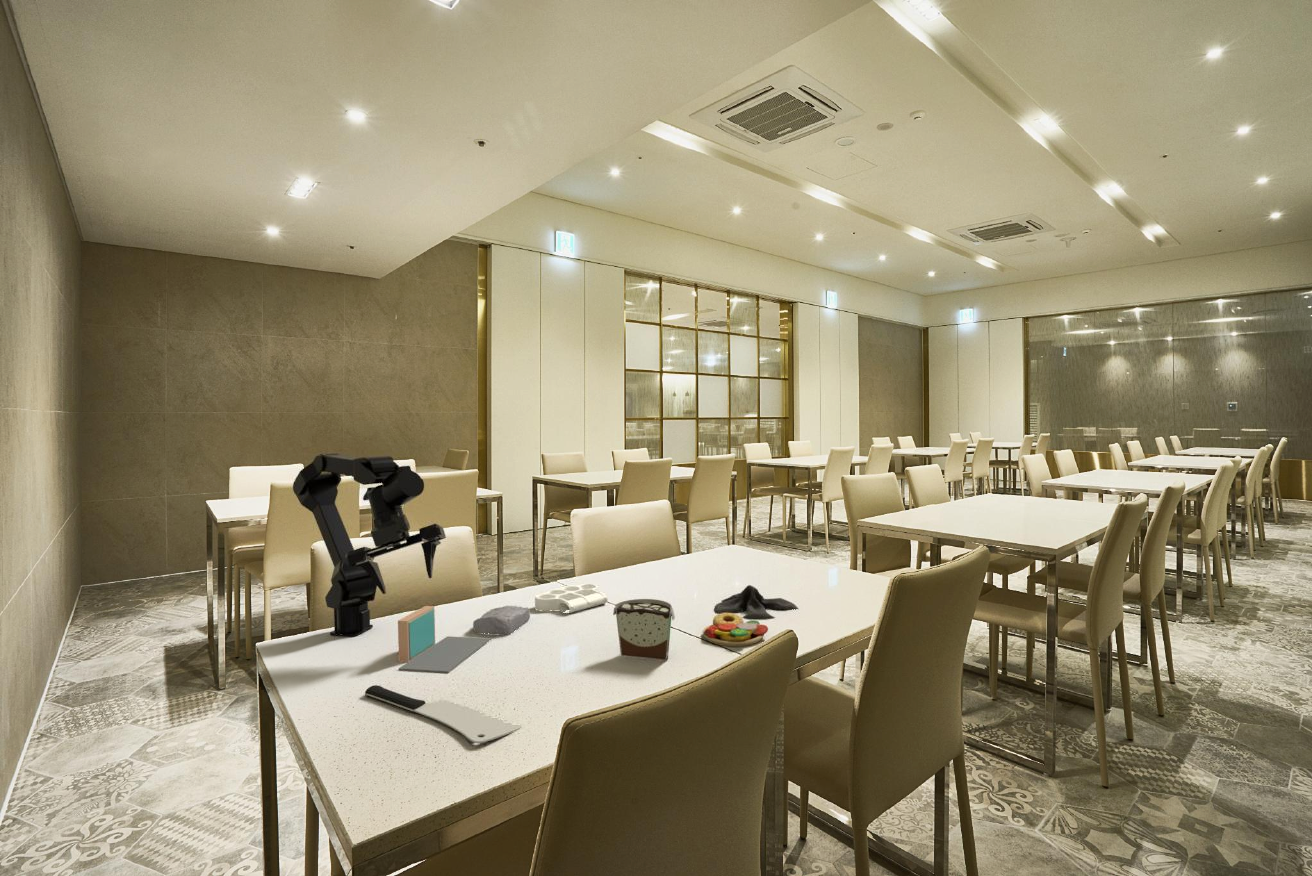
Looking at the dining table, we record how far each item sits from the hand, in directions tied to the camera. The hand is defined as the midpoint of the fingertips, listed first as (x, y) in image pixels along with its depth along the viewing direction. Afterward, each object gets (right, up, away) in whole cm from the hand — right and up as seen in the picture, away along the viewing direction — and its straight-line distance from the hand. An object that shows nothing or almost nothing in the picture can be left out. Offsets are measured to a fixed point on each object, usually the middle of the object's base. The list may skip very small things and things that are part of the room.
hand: (407, 586), depth 130 cm
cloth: (+73, -12, +26) cm, 78 cm away
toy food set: (+67, -12, +5) cm, 68 cm away
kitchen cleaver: (+16, -14, -28) cm, 35 cm away
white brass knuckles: (+29, -12, +31) cm, 44 cm away
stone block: (+15, -13, +14) cm, 25 cm away
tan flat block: (+3, -13, -2) cm, 13 cm away
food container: (+49, -12, -4) cm, 51 cm away
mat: (+9, -13, -3) cm, 16 cm away
